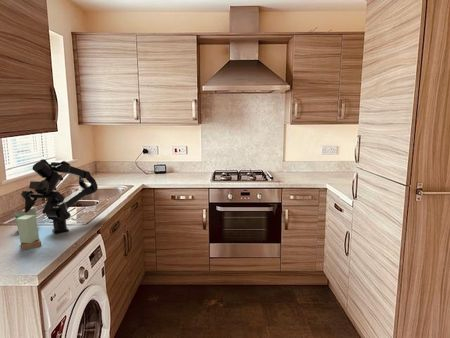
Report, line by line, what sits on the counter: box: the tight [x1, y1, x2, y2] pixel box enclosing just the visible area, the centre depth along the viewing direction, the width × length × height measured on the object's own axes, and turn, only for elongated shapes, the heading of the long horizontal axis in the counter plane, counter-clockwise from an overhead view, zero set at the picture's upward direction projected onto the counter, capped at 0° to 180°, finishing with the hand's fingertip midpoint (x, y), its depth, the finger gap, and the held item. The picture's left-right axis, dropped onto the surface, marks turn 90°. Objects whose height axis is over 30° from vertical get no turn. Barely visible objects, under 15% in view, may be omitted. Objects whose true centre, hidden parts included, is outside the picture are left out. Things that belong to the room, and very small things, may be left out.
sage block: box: [15, 215, 40, 244], centre depth 140 cm, size 5×5×11 cm
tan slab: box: [20, 238, 42, 251], centre depth 141 cm, size 7×7×2 cm
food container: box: [13, 204, 38, 228], centre depth 164 cm, size 12×6×10 cm, turn 170°
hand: (34, 213), depth 143 cm, fingers open, 9 cm apart
